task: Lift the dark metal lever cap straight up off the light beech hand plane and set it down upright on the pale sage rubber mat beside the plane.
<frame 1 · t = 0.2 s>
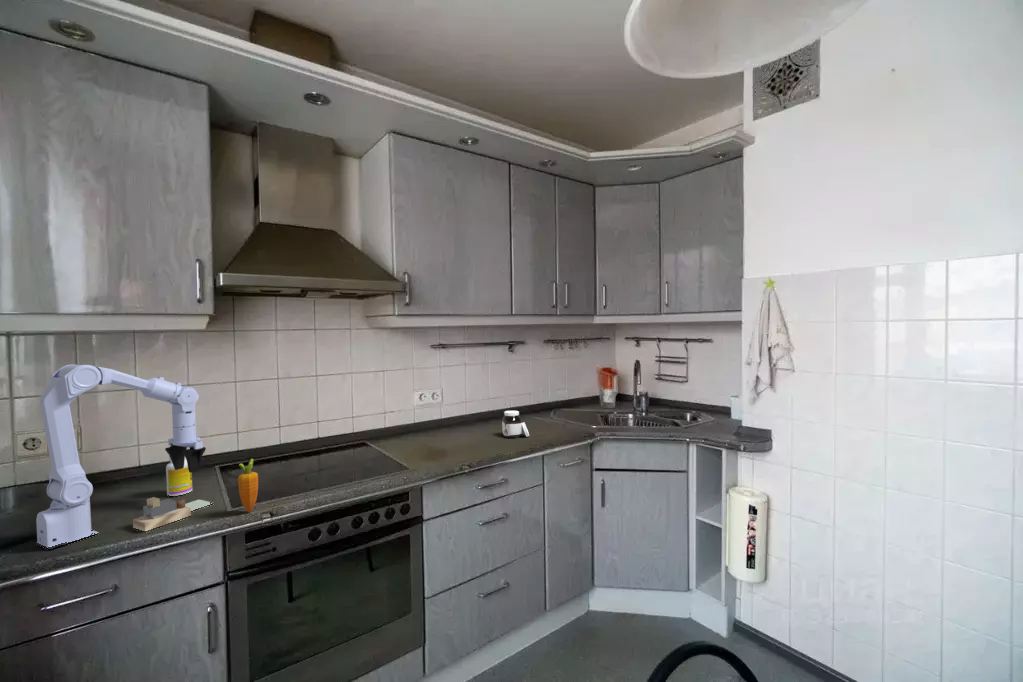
hand: (186, 470, 138), 10 cm above the worktop, tool pointing down, fingers open, 7 cm apart
carrot: (249, 513, 129), on the worktop
sage mat: (192, 506, 135), on the worktop
spread jar: (516, 436, 213), on the worktop
supplement bottle: (180, 494, 147), on the worktop
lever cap: (160, 512, 123), point 3 cm above the worktop, touching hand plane
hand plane: (162, 522, 124), on the worktop
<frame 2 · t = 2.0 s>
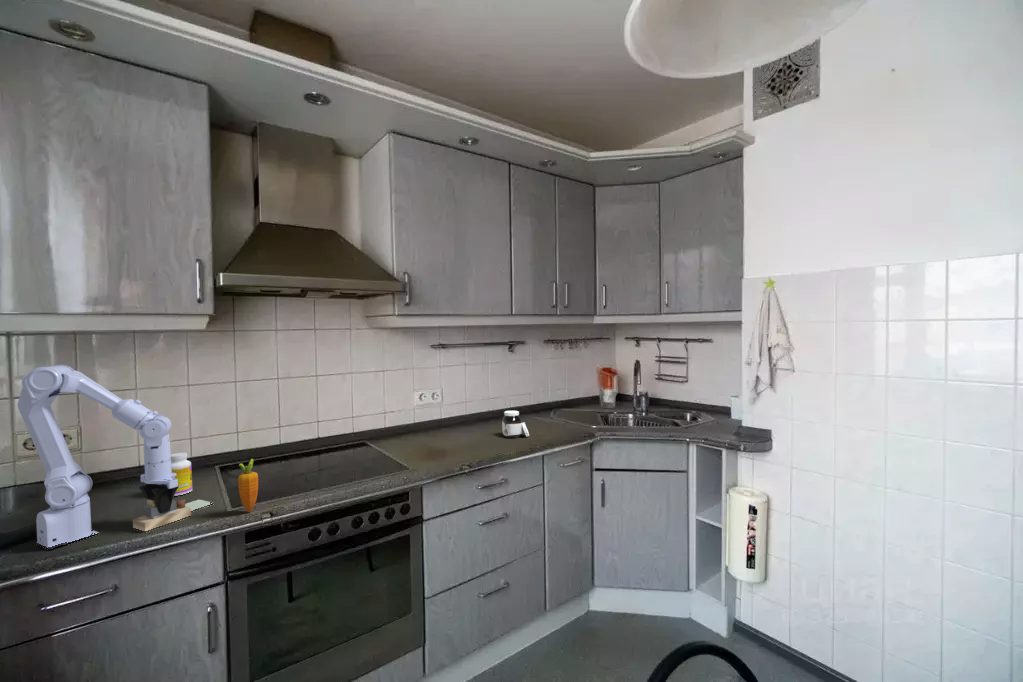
hand: (160, 510, 123), 3 cm above the worktop, tool pointing down, fingers closed on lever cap, 4 cm apart
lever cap: (160, 512, 123), point 3 cm above the worktop, touching gripper, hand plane
everything else where it was.
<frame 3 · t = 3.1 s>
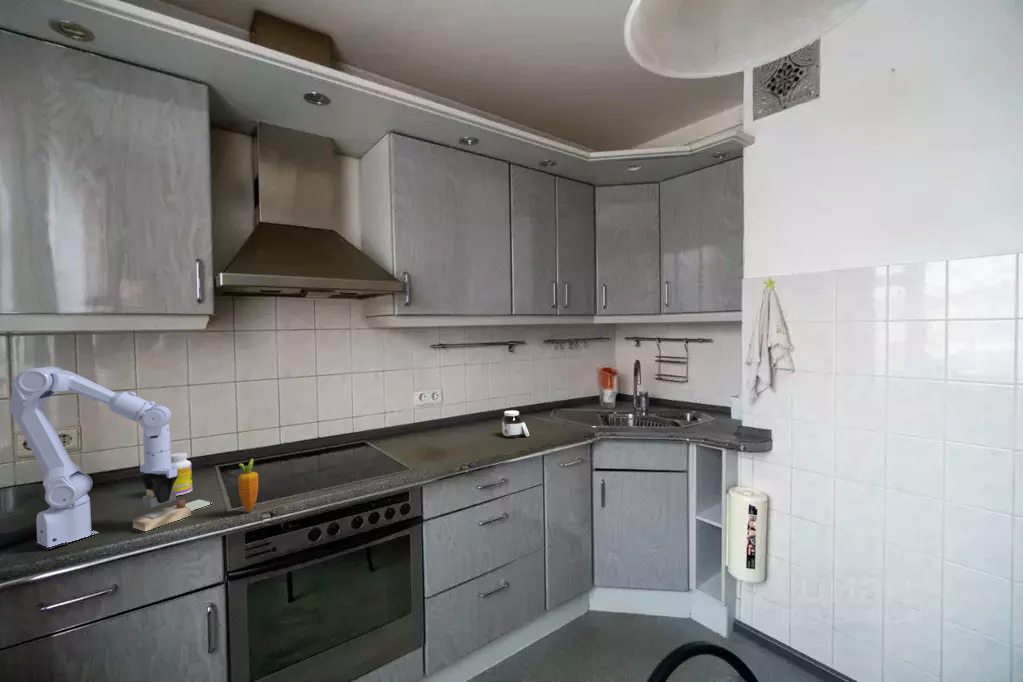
hand: (159, 500, 123), 6 cm above the worktop, tool pointing down, fingers closed on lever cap, 4 cm apart
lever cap: (159, 502, 123), point 6 cm above the worktop, touching gripper
everything else where it was.
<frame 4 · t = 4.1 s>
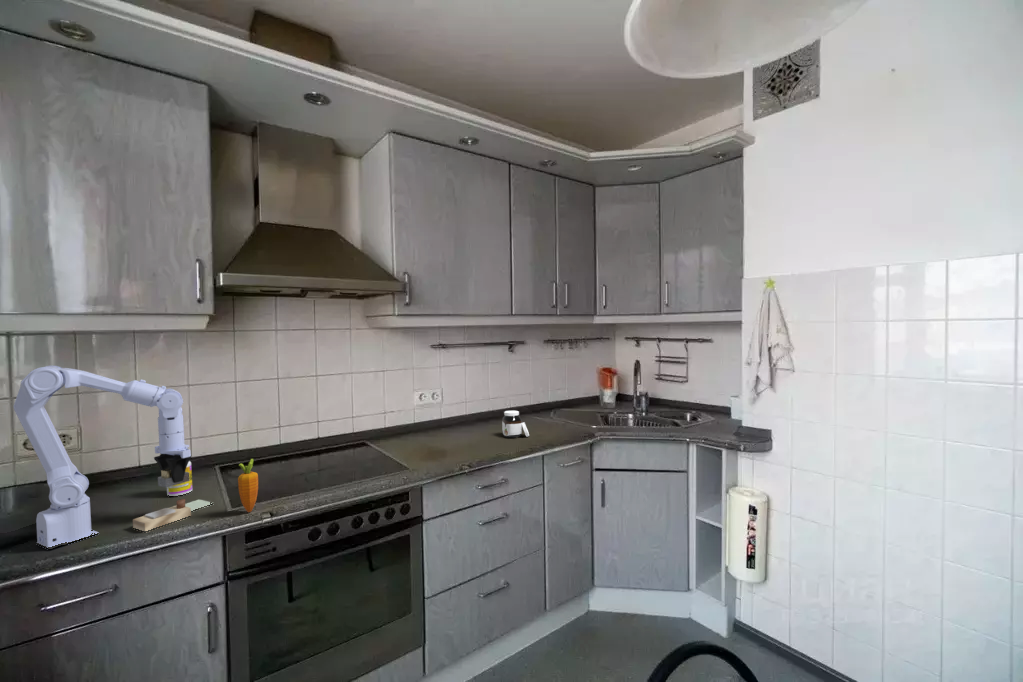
hand: (174, 480, 128), 10 cm above the worktop, tool pointing down, fingers closed on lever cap, 4 cm apart
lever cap: (174, 483, 128), point 9 cm above the worktop, touching gripper
everything else where it was.
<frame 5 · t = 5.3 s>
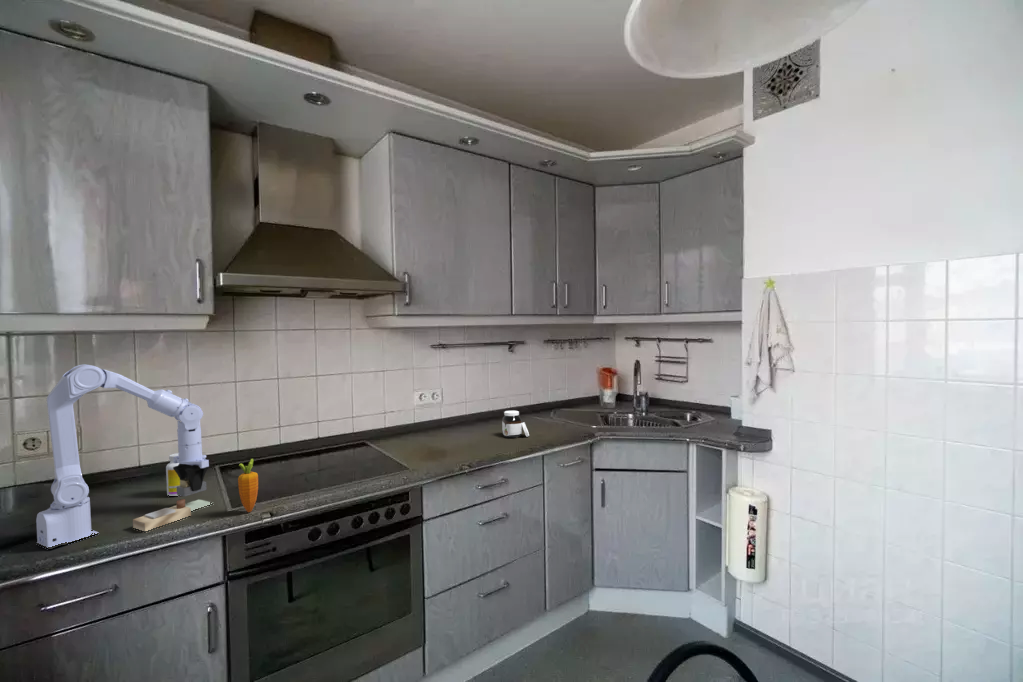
hand: (192, 489, 135), 5 cm above the worktop, tool pointing down, fingers closed on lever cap, 4 cm apart
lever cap: (191, 492, 135), point 4 cm above the worktop, touching gripper
everything else where it was.
when the fingers open (2 cm above the worktop, at t = 6.3 s): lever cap drops 1 cm, resting on sage mat.
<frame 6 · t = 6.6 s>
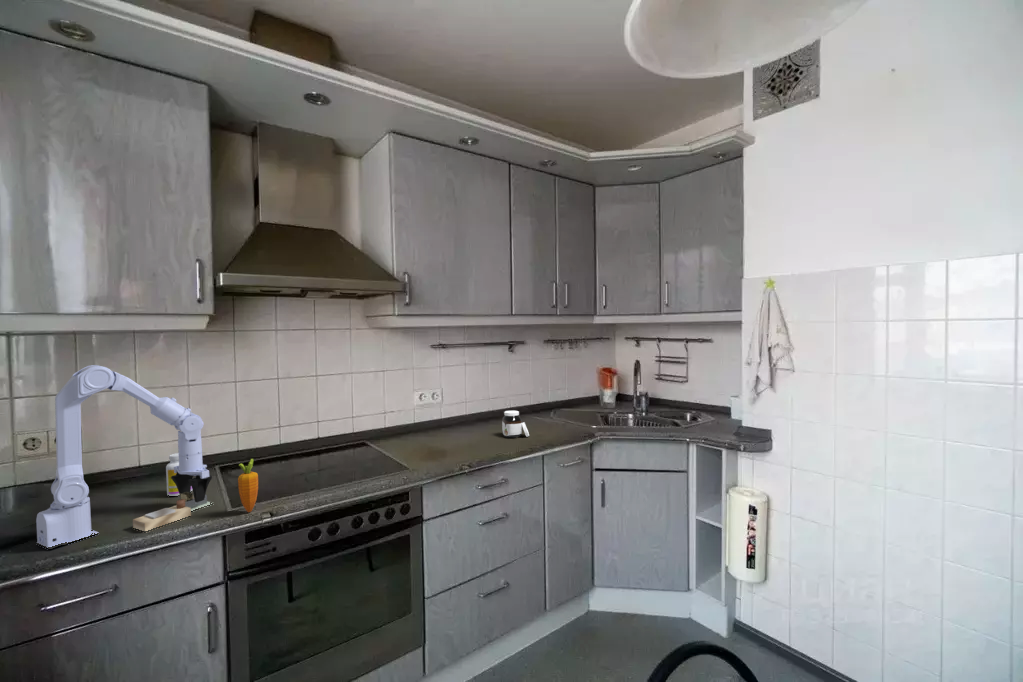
hand: (192, 499, 135), 2 cm above the worktop, tool pointing down, fingers open, 7 cm apart
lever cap: (192, 505, 135), resting on sage mat
everything else where it was.
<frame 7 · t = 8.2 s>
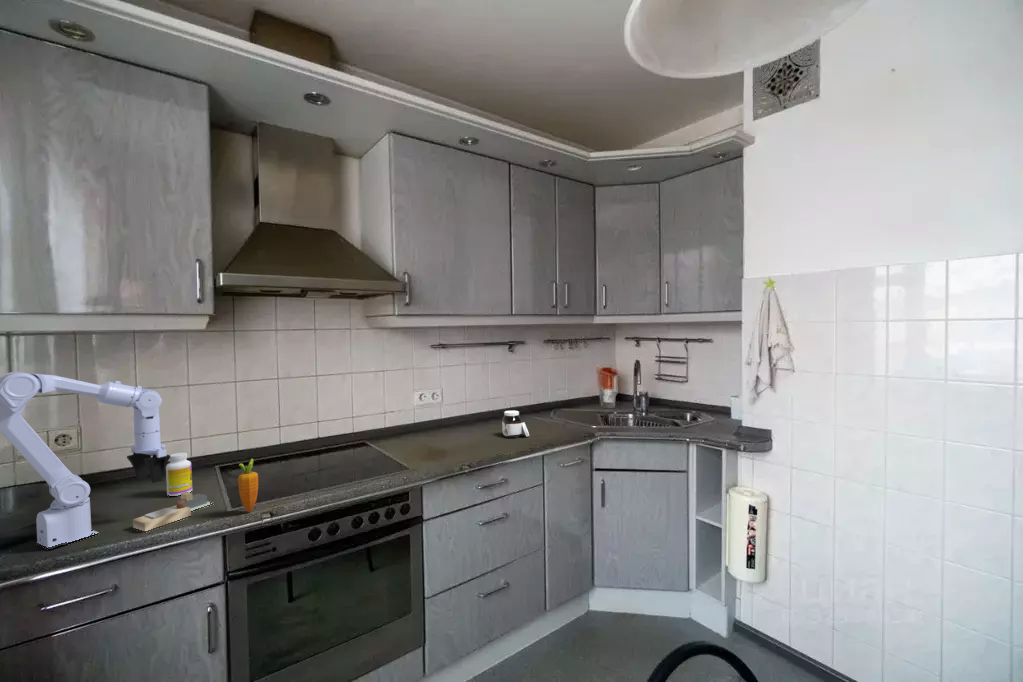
hand: (149, 480, 128), 10 cm above the worktop, tool pointing down, fingers open, 7 cm apart
nothing on the worktop moved.
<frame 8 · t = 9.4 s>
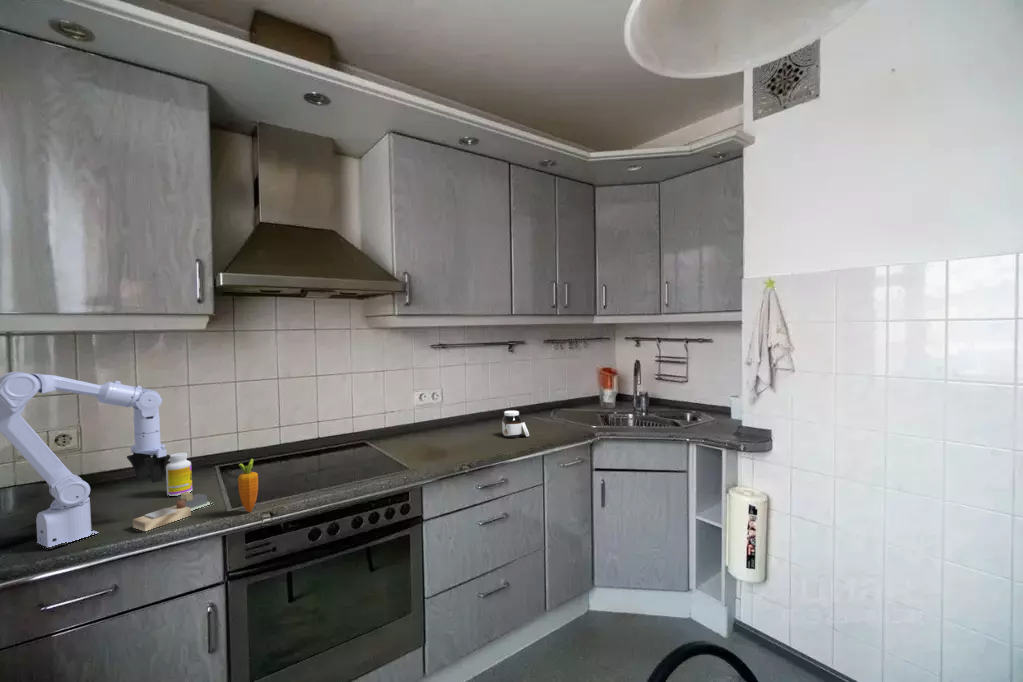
hand: (149, 480, 128), 10 cm above the worktop, tool pointing down, fingers open, 7 cm apart
nothing on the worktop moved.
at the end: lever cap 0.1 cm off-centre on the sage mat, point 0.4 cm above the sage mat's base; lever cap tilted 0°; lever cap touching sage mat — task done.
